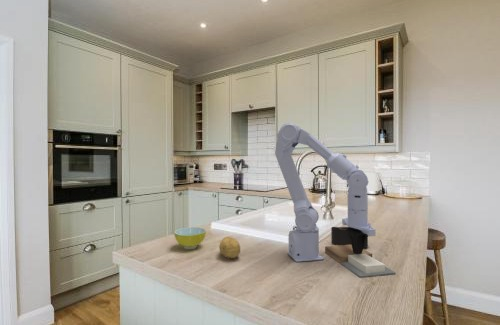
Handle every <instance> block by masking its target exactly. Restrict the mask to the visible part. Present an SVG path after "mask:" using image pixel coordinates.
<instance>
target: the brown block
mask: <svg viewBox="0 0 500 325" xmlns="http://www.w3.org/2000/svg"><path fill="white" fill-rule="evenodd" d="M324 253H325V254H327V255H328V256H330V257H331V258H332V259H333V260H335V261H337V263H339V264H341V262H348V255H356V254H355V253H354V252H353V249H352V245H330V246H329V245H328V246H324ZM362 254H367V255H369V256H370V257H372V258H373V253H371V252H369V251H368V250H367V249H363V251H362Z"/></svg>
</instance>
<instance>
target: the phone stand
mask: <svg viewBox="0 0 500 325" xmlns="http://www.w3.org/2000/svg"><path fill="white" fill-rule="evenodd" d="M346 229H350V227H348V226H339V227H338V226H331V229H330V230H331V231H330V232H331V233H330V234H331V235H330V237H331V238H330V239H331V244H332V245H333V246H339V245H351V241H350V239H349V236H348V234H347V233H346ZM368 239H369V238H367V239H366V241H365V244H364V247H363V249H364V250H368V249H369V246H368V245H369V240H368Z"/></svg>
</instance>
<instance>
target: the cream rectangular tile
mask: <svg viewBox="0 0 500 325" xmlns="http://www.w3.org/2000/svg"><path fill="white" fill-rule="evenodd" d="M348 262H349V263H351V264H352V265H354V266H355V267H357V268H358V269H360V270H361V271H363V272H364V273H366V274H368V273H378V272H385V267H386V264H385V263H383V262H381V261H379V260H377V259H376V258H373V256H372V257H370V256H369V255H367V254H356V255H348Z"/></svg>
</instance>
